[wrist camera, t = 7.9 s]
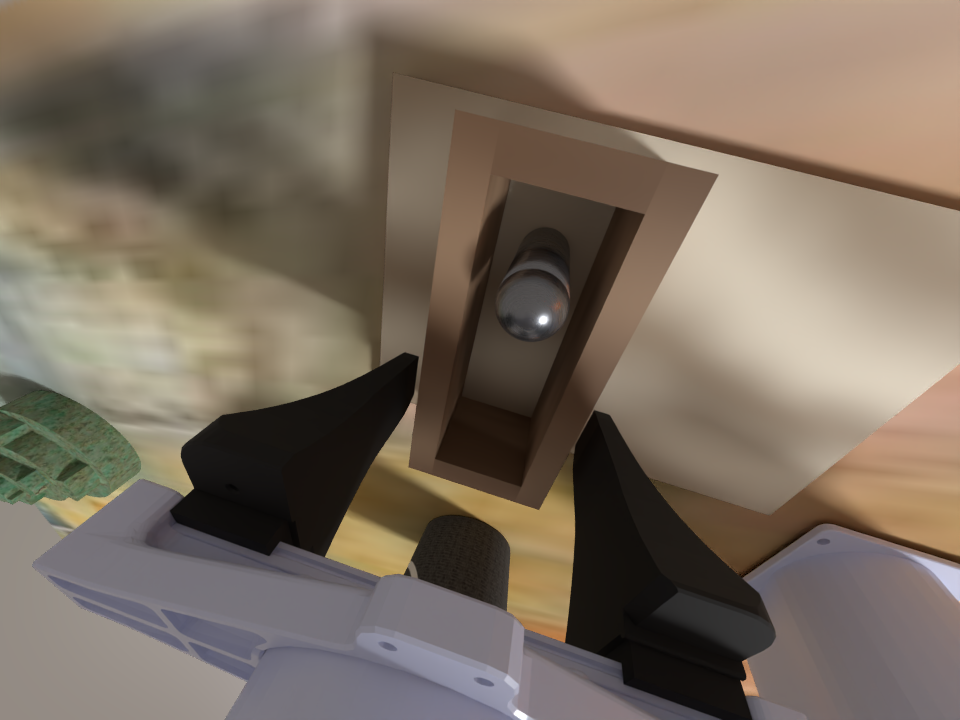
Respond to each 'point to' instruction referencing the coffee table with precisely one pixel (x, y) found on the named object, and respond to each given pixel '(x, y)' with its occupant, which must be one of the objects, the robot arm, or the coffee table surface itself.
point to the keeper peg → (536, 287)
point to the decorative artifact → (60, 451)
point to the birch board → (701, 304)
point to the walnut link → (596, 319)
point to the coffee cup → (464, 559)
